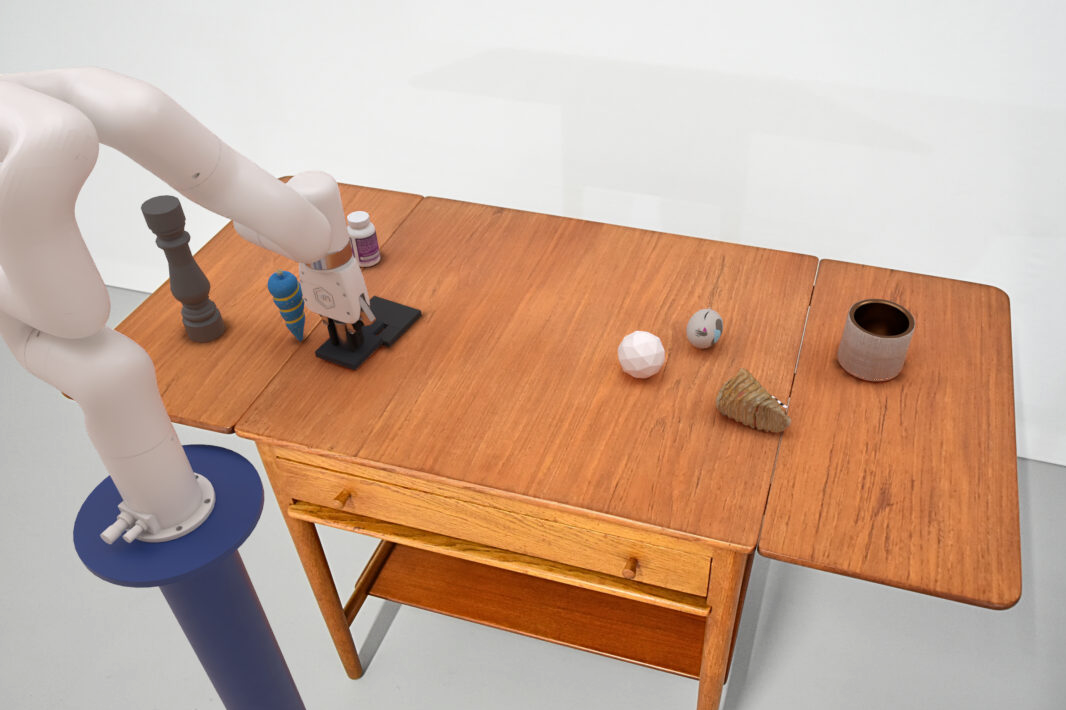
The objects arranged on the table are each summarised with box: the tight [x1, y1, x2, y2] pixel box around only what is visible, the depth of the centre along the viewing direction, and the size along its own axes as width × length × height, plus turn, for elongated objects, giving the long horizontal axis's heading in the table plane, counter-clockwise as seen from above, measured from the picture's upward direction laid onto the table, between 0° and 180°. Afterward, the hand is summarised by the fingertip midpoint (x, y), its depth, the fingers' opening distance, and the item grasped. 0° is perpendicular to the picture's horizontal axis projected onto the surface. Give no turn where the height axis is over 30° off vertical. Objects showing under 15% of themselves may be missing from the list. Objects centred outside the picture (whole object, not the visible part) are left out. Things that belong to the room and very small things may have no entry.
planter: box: [837, 298, 917, 382], centre depth 149 cm, size 11×11×10 cm
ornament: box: [267, 269, 306, 342], centre depth 149 cm, size 5×5×15 cm
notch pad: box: [369, 295, 423, 349], centre depth 157 cm, size 10×10×1 cm
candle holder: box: [140, 194, 226, 344], centre depth 147 cm, size 6×6×25 cm
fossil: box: [715, 367, 792, 433], centre depth 141 cm, size 12×6×9 cm
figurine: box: [685, 306, 724, 349], centre depth 152 cm, size 8×6×7 cm
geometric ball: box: [617, 330, 666, 379], centre depth 147 cm, size 8×8×8 cm
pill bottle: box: [346, 210, 381, 268], centre depth 169 cm, size 5×5×10 cm
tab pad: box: [314, 319, 385, 371], centre depth 150 cm, size 12×8×7 cm
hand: (348, 342), depth 150 cm, fingers closed on tab pad, 3 cm apart
